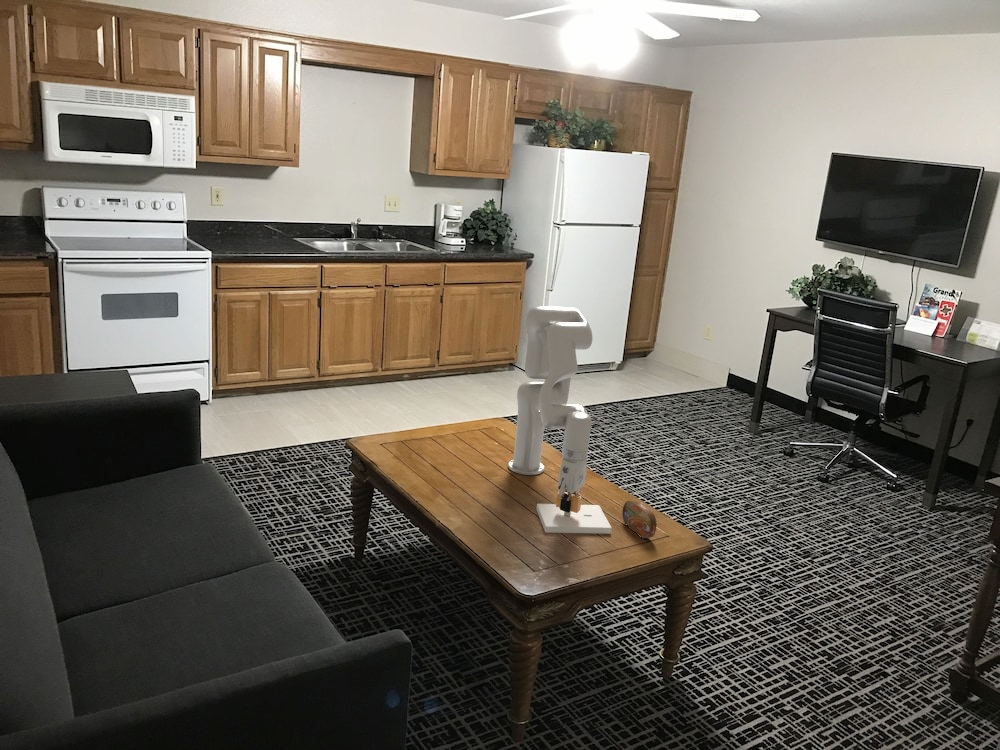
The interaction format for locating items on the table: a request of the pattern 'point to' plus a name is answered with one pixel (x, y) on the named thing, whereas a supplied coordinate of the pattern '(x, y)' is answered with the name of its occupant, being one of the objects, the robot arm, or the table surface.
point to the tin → (639, 519)
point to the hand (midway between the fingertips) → (567, 508)
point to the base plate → (573, 519)
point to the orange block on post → (574, 502)
